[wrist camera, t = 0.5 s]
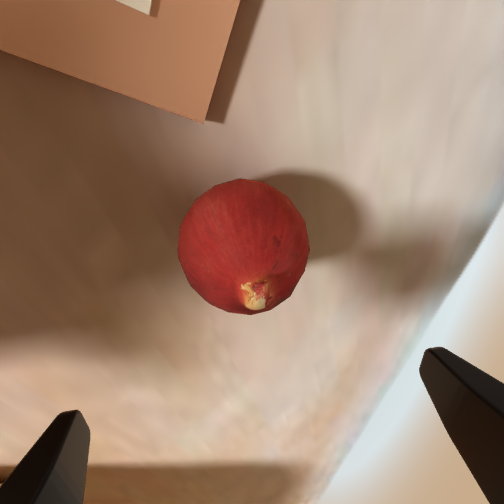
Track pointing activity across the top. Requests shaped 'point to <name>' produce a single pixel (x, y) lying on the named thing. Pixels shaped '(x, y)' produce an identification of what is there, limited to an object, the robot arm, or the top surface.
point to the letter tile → (127, 45)
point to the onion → (243, 246)
